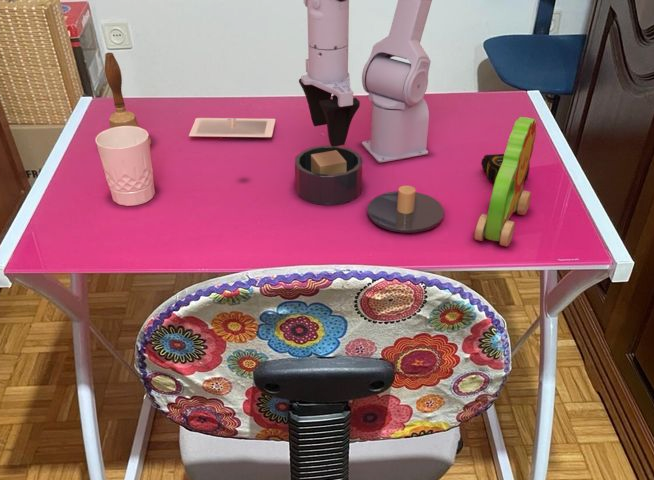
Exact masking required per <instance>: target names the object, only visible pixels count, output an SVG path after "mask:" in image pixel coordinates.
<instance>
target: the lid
mask: <svg viewBox="0 0 654 480" xmlns="http://www.w3.org/2000/svg"><path fill="white" fill-rule="evenodd" d="M366 213H367V216H368V218H369V220H370V221H371V222H372V223H373V224H375V225H376V226H378V227H380V228H383V229H385V230H387V231H391V232H396V233H405V234H407V233H409V234H410V233H411V234H412V233H413V234H414V233H420V232H425V231H428V230H431V229H433V228H436V227H437V226H438V225H440V223H441V222H442V221H443V219H444V215H445V210H444V207H443V205H442V204H441V202H439V201H438V199H436V198H434V197H433V196H430V195H428V194H425V193H421V192H417V190H416V187H414V186H413V185H408V184H407V185H401V186H399V187H398V190H397V191H389V192H385V193H382V194H379V195H377V196H375V197H374V198H372V199H371V200H370V201H369V202H368V205H367V207H366Z"/></svg>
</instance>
